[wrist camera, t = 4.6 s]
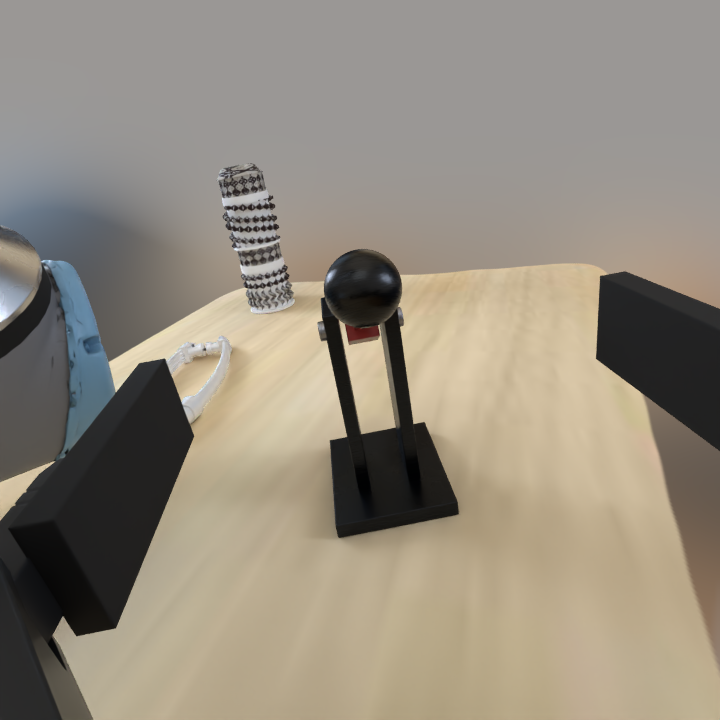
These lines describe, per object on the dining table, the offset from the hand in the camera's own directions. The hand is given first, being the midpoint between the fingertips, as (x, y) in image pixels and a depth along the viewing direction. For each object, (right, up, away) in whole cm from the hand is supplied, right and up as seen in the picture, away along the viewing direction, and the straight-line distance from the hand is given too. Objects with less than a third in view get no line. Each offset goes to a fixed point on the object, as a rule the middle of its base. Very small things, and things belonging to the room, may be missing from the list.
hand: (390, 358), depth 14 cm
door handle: (-23, -4, +49) cm, 54 cm away
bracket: (+1, -10, +25) cm, 27 cm away
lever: (0, +1, +13) cm, 13 cm away
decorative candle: (-17, +10, +76) cm, 79 cm away
